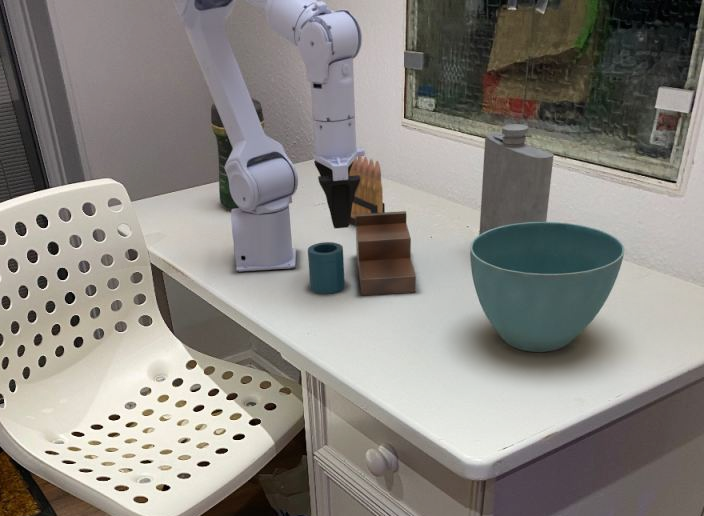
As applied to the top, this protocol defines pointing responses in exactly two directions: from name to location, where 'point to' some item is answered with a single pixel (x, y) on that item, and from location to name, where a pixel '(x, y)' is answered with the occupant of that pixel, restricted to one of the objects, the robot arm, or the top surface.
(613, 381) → the top surface
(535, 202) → the hip flask
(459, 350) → the top surface
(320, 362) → the top surface
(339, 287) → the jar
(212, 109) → the coffee jar
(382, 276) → the step shelf
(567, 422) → the top surface
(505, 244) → the teal bowl
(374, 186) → the ammunition clip
